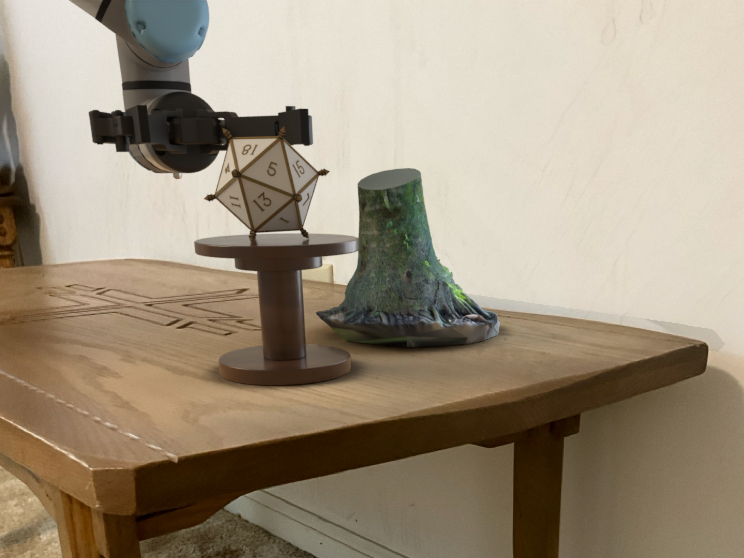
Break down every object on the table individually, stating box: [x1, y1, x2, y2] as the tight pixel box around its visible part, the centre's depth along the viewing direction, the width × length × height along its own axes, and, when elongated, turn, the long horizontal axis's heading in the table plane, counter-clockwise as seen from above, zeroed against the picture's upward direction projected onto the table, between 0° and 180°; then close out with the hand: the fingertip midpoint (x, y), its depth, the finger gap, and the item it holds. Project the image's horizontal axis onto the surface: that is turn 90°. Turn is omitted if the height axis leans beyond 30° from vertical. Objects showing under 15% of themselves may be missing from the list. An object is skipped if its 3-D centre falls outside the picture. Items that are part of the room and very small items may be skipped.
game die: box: [203, 127, 331, 242], centre depth 66 cm, size 9×8×10 cm
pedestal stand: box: [193, 232, 359, 386], centre depth 70 cm, size 13×13×10 cm
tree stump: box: [315, 167, 501, 348], centre depth 83 cm, size 18×20×18 cm
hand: (227, 125), depth 71 cm, fingers open, 13 cm apart
